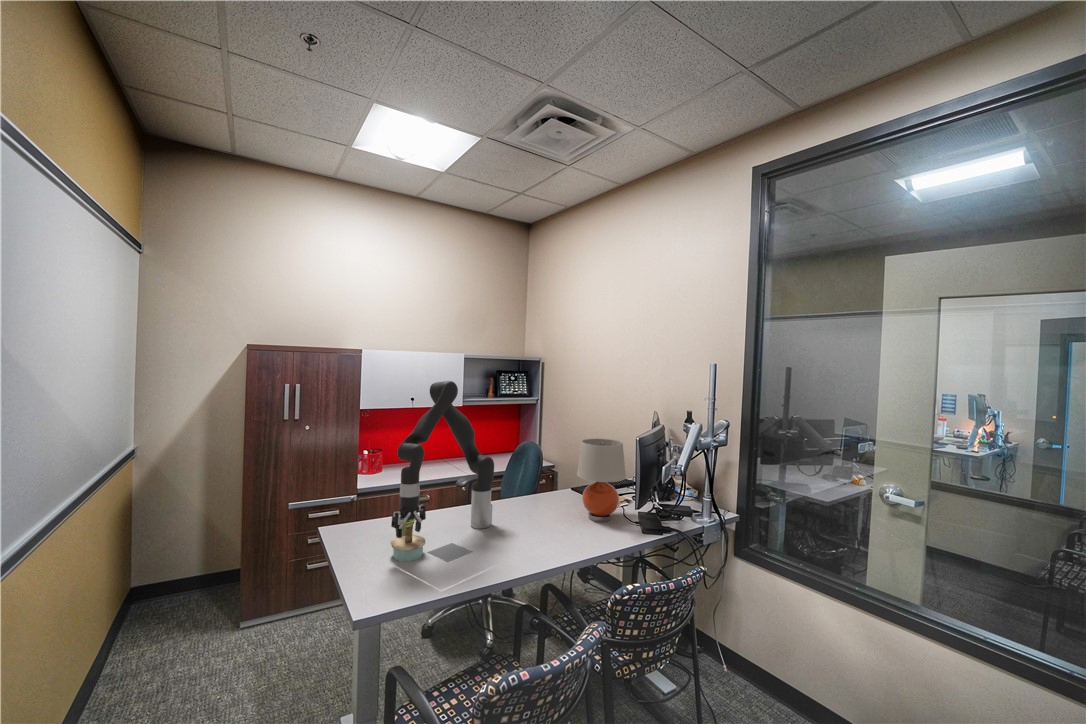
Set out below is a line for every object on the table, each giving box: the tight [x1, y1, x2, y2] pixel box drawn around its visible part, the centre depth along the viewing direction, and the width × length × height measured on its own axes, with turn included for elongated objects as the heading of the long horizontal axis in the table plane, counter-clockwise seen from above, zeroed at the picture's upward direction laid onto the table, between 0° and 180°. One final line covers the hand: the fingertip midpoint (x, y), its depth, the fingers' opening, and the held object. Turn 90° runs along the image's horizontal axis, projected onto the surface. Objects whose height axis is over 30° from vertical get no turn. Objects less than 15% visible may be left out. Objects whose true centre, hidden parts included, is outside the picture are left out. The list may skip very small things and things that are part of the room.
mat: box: [427, 542, 474, 563], centre depth 186 cm, size 13×13×1 cm
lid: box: [390, 525, 426, 550], centre depth 182 cm, size 13×13×7 cm
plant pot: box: [394, 515, 416, 538], centre depth 199 cm, size 9×9×9 cm
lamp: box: [576, 438, 627, 523], centre depth 233 cm, size 25×25×39 cm
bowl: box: [392, 546, 424, 562], centre depth 182 cm, size 11×11×5 cm
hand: (408, 534), depth 182 cm, fingers open, 8 cm apart
